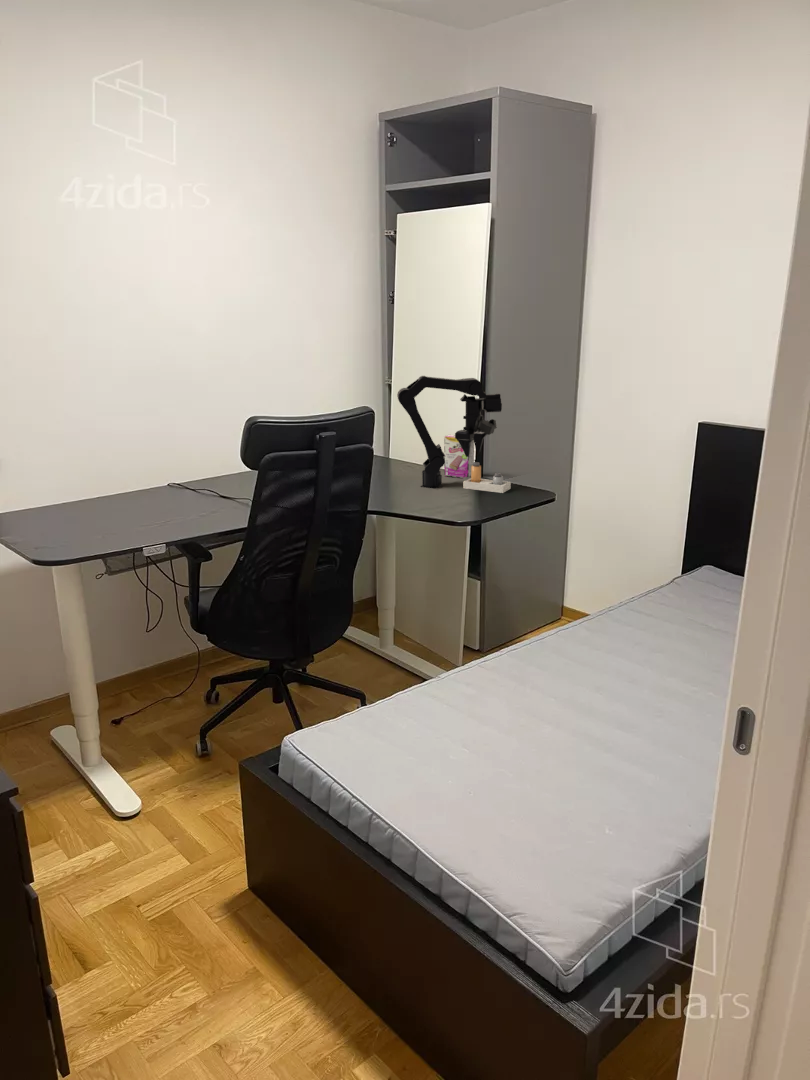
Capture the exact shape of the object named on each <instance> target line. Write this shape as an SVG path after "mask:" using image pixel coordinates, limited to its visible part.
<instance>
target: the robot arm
mask: <svg viewBox="0 0 810 1080" xmlns="http://www.w3.org/2000/svg"><path fill="white" fill-rule="evenodd" d="M425 388H429V389H430V388H431V389H437V390H438V389H439V390H440V389H441V390H448V391H449V390H450V391H456V392H460V393H463V396H461V398H459V401H460V402H465V415H463V419H464V420H465V425H464V426H463V428H462V429H460V430H457V431H456V432H455V433H454V435H455V439H457V441H458V442H459V443H460V445H461V447H462V449H463V451H464V453H465V455H466V457H469V454H470V446H471V442H472V441H473V440H474V448H475V450H476V452H477V453H480V452H481V449H482V446H483V443H484V440H485V438H486V437H487V436H490V435H491V434H494V433H495V430H496V429H497V428H498V427H497V423H496V421H497V420H496V419H493V418H491V419H489V420H485V418H484V415H483V414H482V410H483V411H484V413H489V414H490V413H501V412H502V408H503V403H502V398H501V393H492V394H491V393H490V394H487V393H486V392H485V391H484V390H483V385H482V383H481V381H480V380H478V379H477V378H475V377H468V378H460V379H459V378H458V379H452V378H444V377H434V376H433V377H432V376H426V375H421V376H419V377H418V378H417V379H416V380H414V381H413V382H412V383H409V385H408V386H406V387H402V388H400V389H399V390H398V392H397V401H398V402H399V404H400V405H401V407H403V409H404V410H405V412H406V413H407V414H408V415H409V417H410V420H411V421H412V423H413V426H414V428H415V429H416V432H417V434H418V435H419V437H420V439H421V442H422V444H423V445H424V448H425V451H426V455H427V458H426V460H425V461H424V462H422V466H423V468H424V469H423V470H421V471H422V474H421V475H422V478H421V479H422V484H421V485H420V488H427V489H437V488H440V487H442V486H443V483H442V481H443V480H442V478H443V477H442V474H441V468H443V466H444V463H445V458H444V457H445V454H444V451H443V449H442V447H441V445H440V443H438V444H436V443H435V442H434V441H433V438H432V437H431V435H430V433H429V431H428V428H427V427H426V424H425V423H424V420H423V419H422V416H421V414H420V412H419V411H418V406H417V403H416V399H415V398H417V396H418V395H420V393H421V392H422V391H423V390H425ZM466 394H467V395H470V396H467V395H466ZM476 396H477V397H479V398H476Z"/></svg>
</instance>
